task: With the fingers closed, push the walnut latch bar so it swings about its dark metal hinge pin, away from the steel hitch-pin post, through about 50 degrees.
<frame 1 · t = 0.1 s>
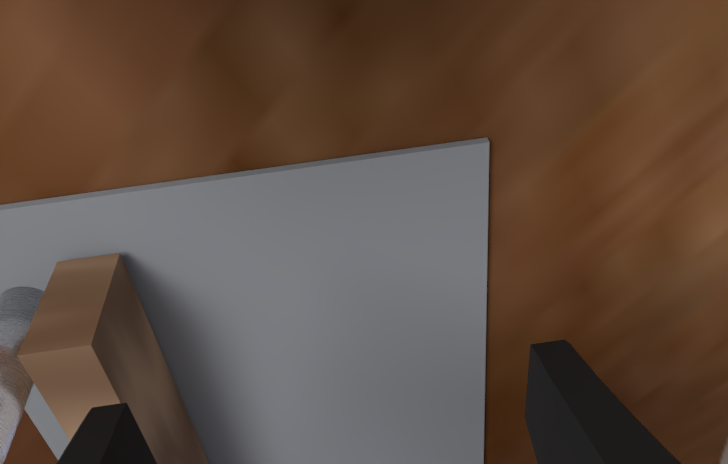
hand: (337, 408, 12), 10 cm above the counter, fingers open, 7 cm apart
mat: (262, 386, 26), on the counter
hitch post: (31, 302, 23), resting on mat
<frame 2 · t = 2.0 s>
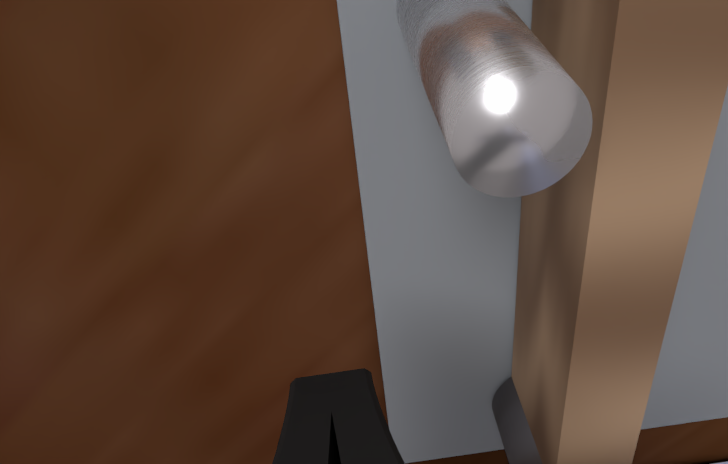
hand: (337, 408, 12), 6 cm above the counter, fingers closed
latch bar: (599, 314, 15), point 4 cm above the counter, hinge at 0.0°
mat: (696, 193, 18), on the counter
hitch post: (440, 2, 14), resting on mat
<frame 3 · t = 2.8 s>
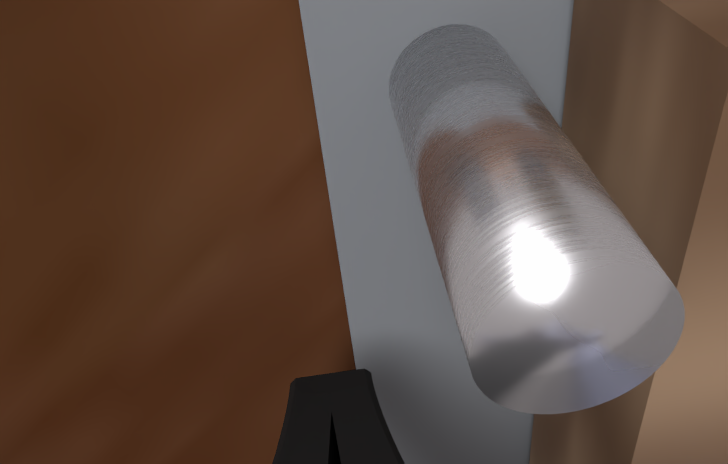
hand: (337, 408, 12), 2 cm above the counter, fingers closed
hitch post: (446, 77, 11), resting on mat
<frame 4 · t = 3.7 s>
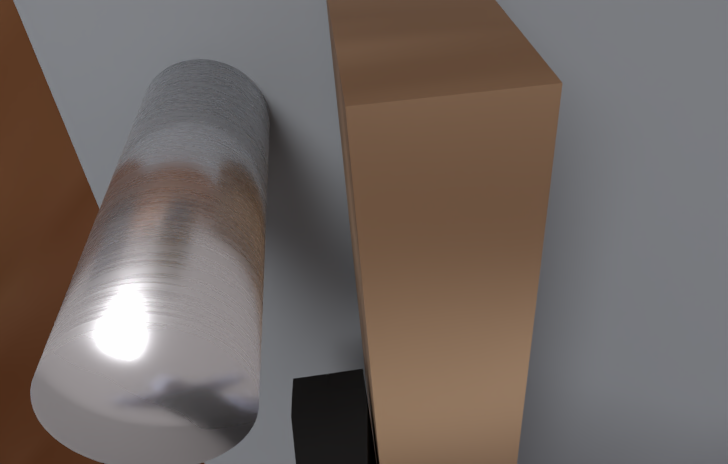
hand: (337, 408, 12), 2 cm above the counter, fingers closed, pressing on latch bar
mat: (578, 315, 15), on the counter
hitch post: (208, 110, 11), resting on mat
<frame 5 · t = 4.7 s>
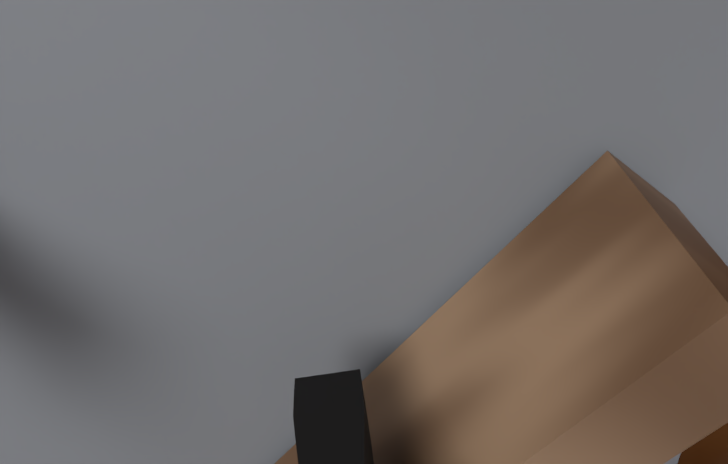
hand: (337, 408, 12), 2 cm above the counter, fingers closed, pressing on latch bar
mat: (323, 351, 15), on the counter
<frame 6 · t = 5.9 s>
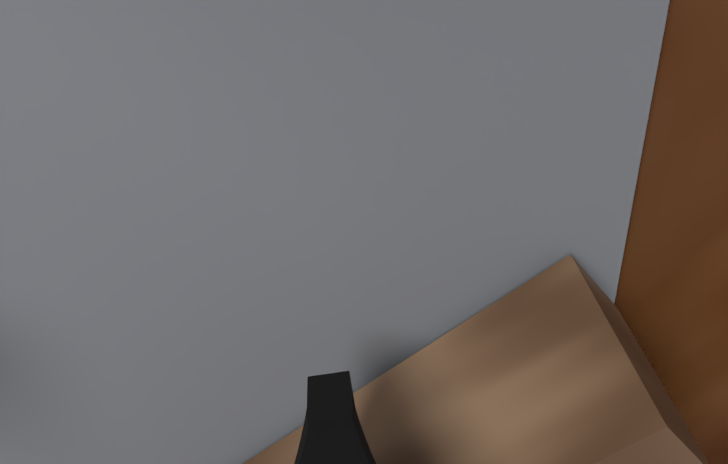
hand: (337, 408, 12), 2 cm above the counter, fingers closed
mat: (202, 368, 14), on the counter
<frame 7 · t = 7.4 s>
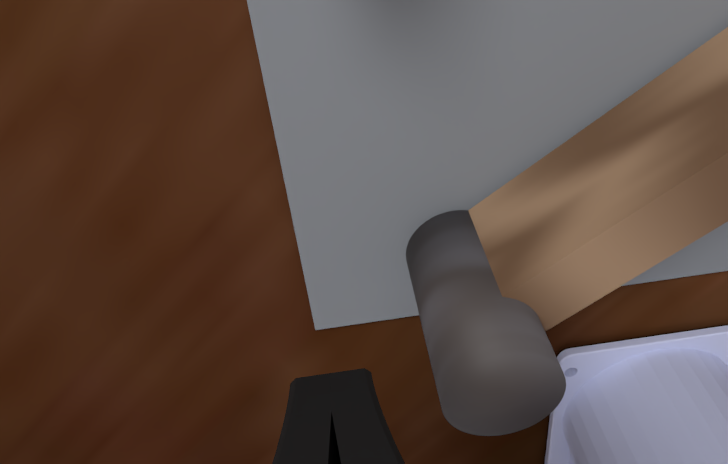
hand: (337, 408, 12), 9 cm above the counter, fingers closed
latch bar: (688, 178, 17), point 4 cm above the counter, hinge at 55.6°
mat: (591, 15, 18), on the counter
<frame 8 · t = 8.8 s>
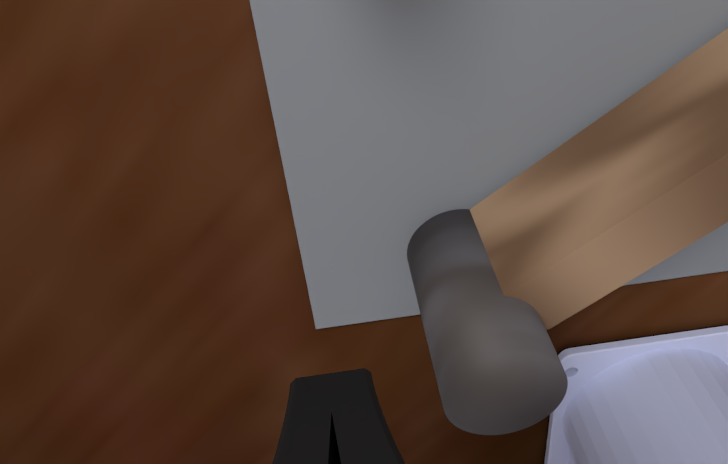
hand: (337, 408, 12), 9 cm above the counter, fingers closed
latch bar: (690, 177, 17), point 4 cm above the counter, hinge at 55.6°
mat: (593, 14, 18), on the counter
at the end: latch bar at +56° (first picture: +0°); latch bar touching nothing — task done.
